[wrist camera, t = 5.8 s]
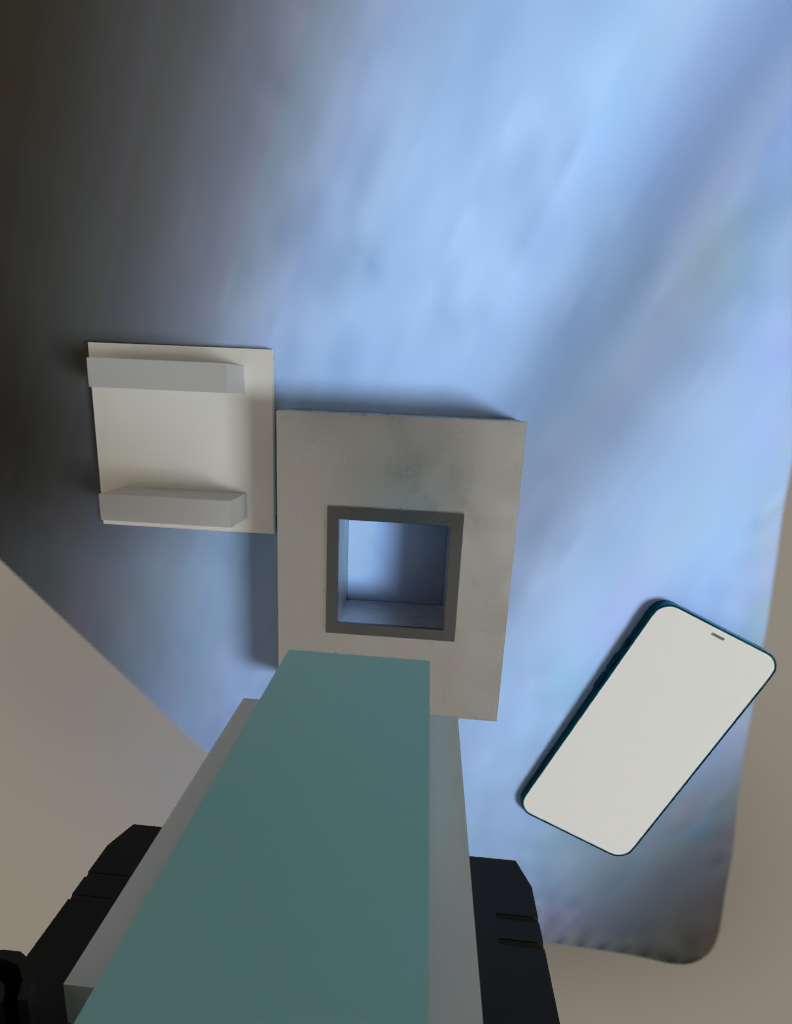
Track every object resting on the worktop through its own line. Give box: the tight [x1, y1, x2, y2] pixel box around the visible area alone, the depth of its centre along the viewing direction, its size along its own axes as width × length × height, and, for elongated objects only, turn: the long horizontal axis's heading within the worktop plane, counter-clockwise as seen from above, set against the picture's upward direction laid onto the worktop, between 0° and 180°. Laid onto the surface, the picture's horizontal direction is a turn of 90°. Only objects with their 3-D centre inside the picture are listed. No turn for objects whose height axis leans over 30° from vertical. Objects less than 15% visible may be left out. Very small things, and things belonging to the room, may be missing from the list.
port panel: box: [276, 409, 527, 721], centre depth 27 cm, size 16×12×3 cm
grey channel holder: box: [86, 342, 276, 534], centre depth 27 cm, size 10×10×3 cm
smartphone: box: [521, 600, 776, 856], centre depth 30 cm, size 8×1×16 cm
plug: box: [74, 650, 430, 1024], centre depth 9 cm, size 4×4×12 cm
